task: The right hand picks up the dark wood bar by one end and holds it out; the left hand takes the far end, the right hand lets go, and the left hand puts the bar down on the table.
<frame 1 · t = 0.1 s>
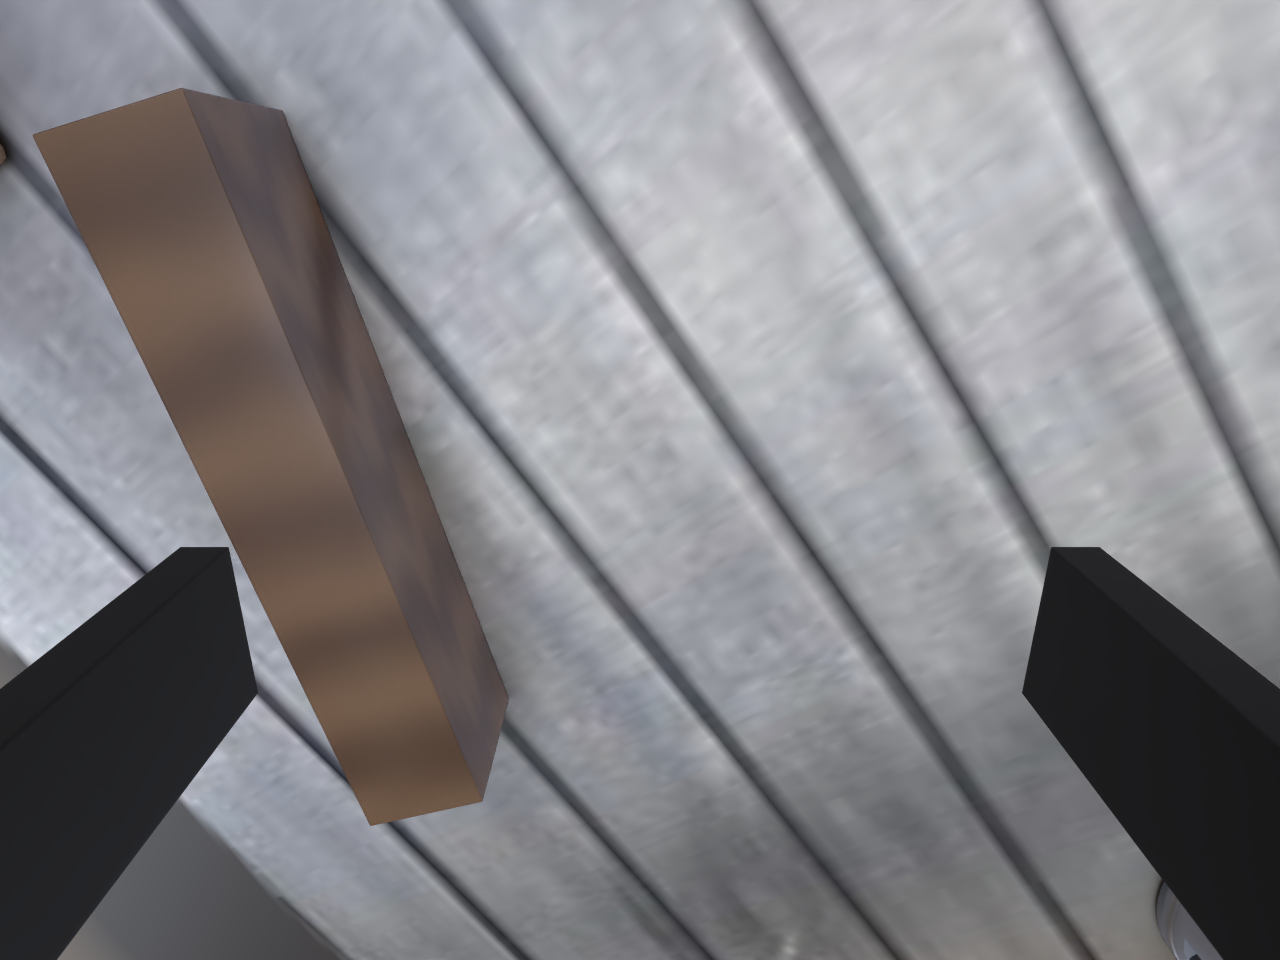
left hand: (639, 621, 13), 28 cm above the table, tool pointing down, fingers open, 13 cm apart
bar: (357, 457, 42), on the table
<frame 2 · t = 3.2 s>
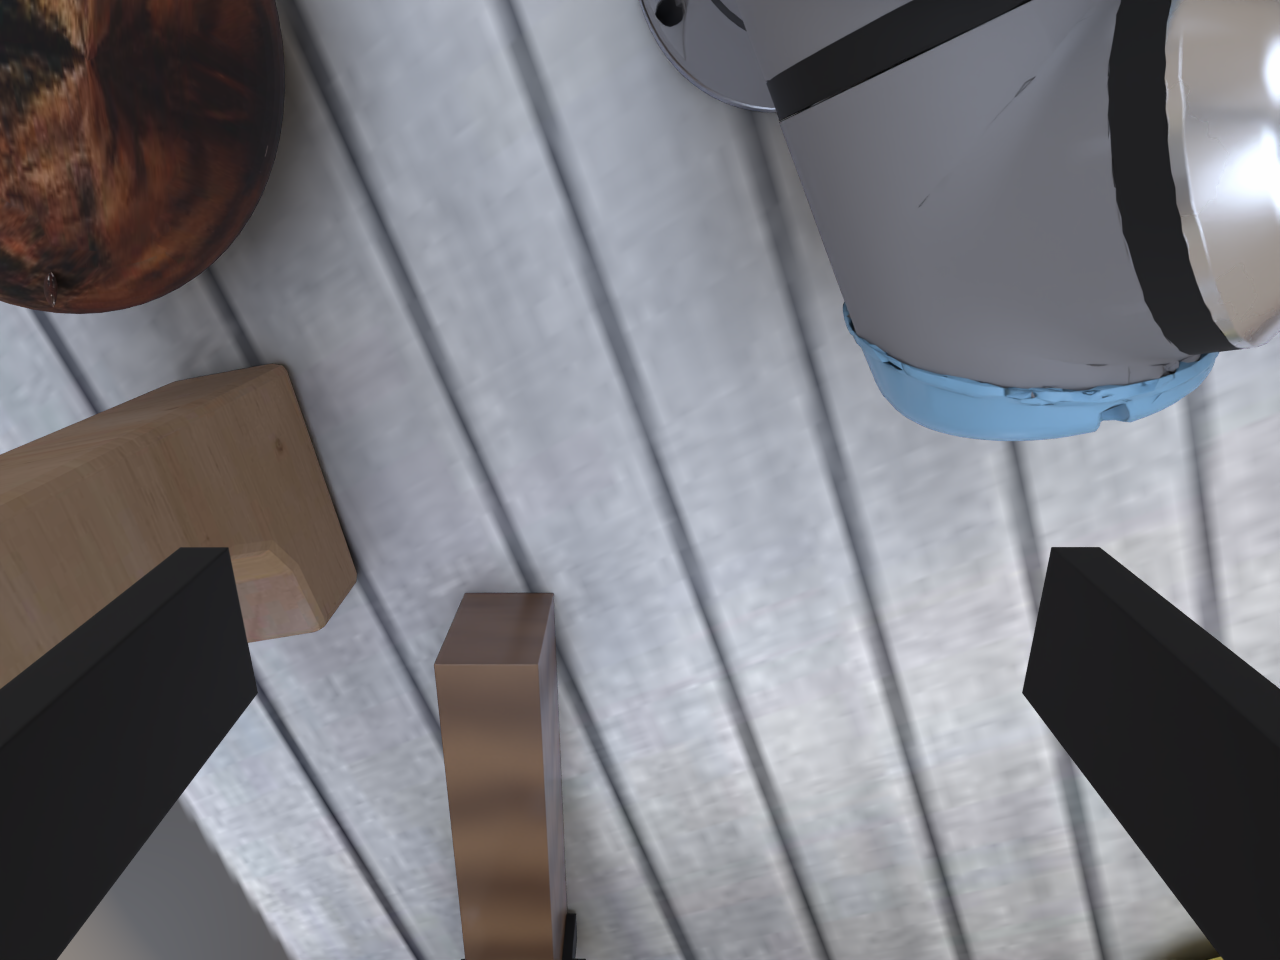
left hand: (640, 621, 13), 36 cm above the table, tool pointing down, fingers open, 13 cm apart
bar: (521, 789, 59), on the table, touching right hand
cat face balloon: (171, 78, 42), on the table
decorative block: (272, 483, 50), on the table
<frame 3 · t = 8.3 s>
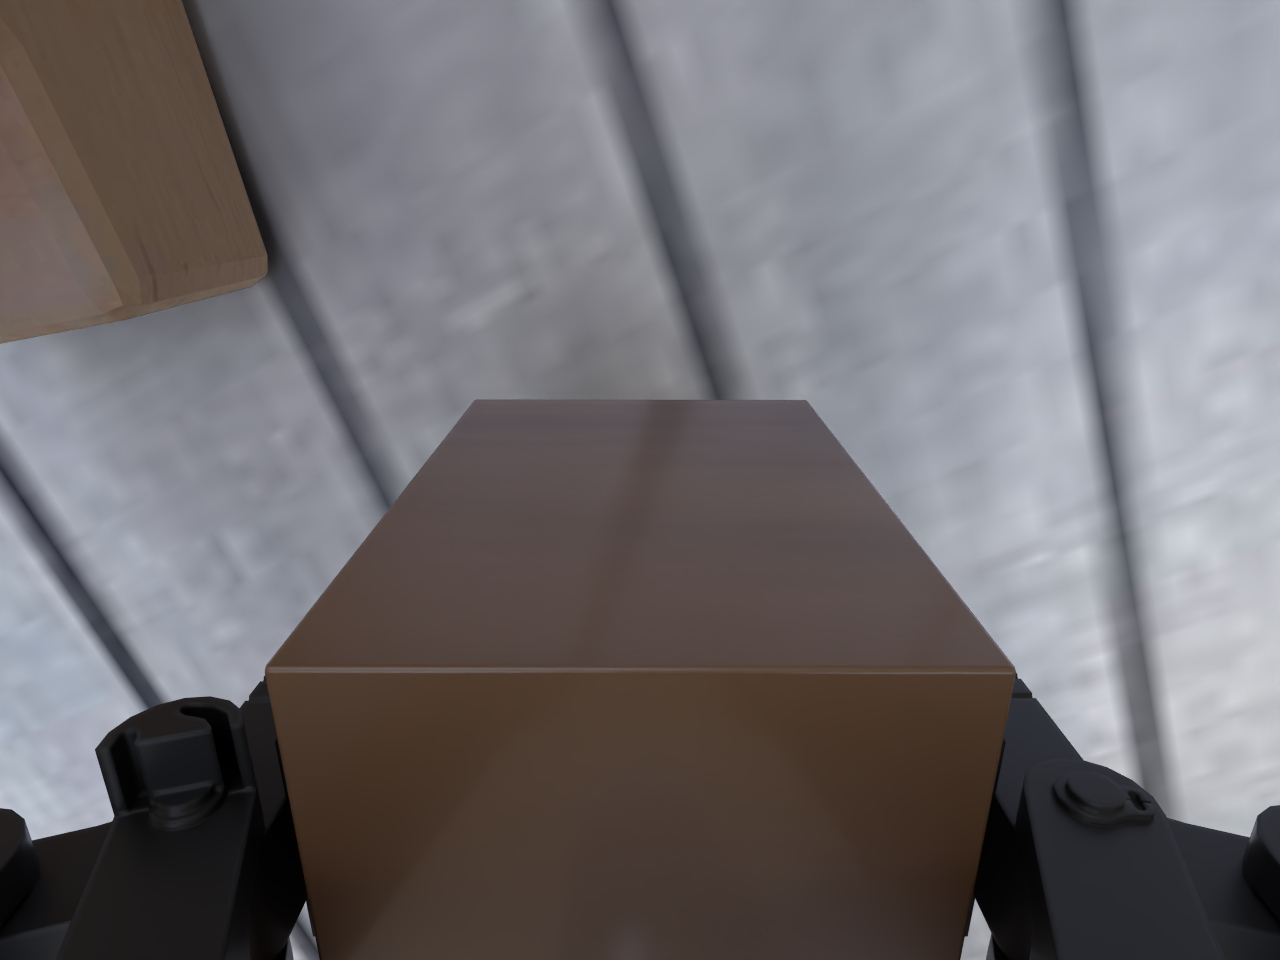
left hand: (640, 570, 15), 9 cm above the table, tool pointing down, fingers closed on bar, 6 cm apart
when the right hand's fingers open (9 cm above the table, at t = 9.1 s): bar stays where it is, held by the left hand.
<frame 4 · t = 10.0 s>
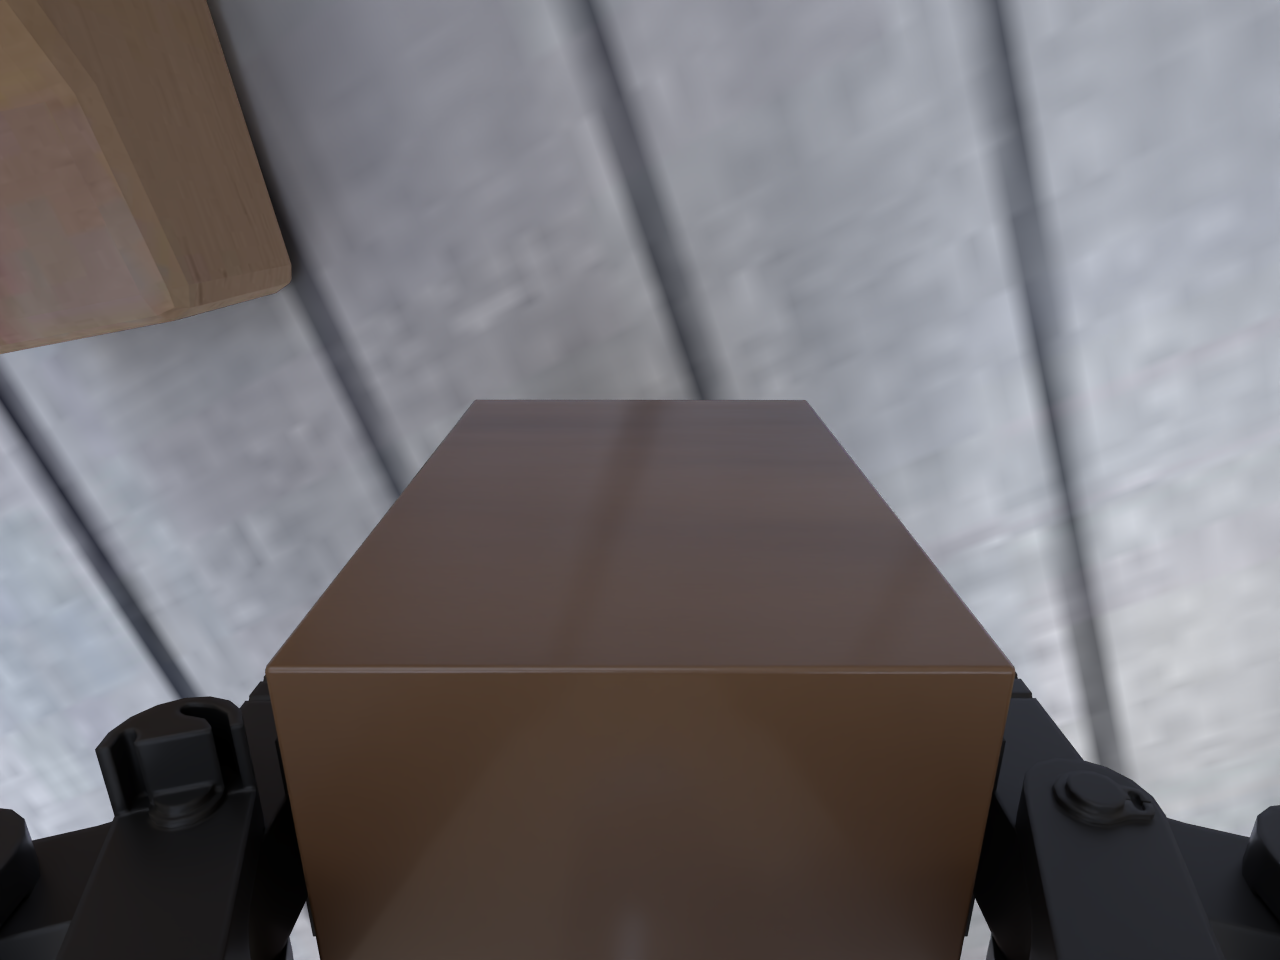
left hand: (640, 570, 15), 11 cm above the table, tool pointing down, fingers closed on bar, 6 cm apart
decorative block: (90, 33, 22), on the table
when the left hand's fingers open (2 cm above the table, at t = 17.4 s): bar drops 1 cm, on the table.
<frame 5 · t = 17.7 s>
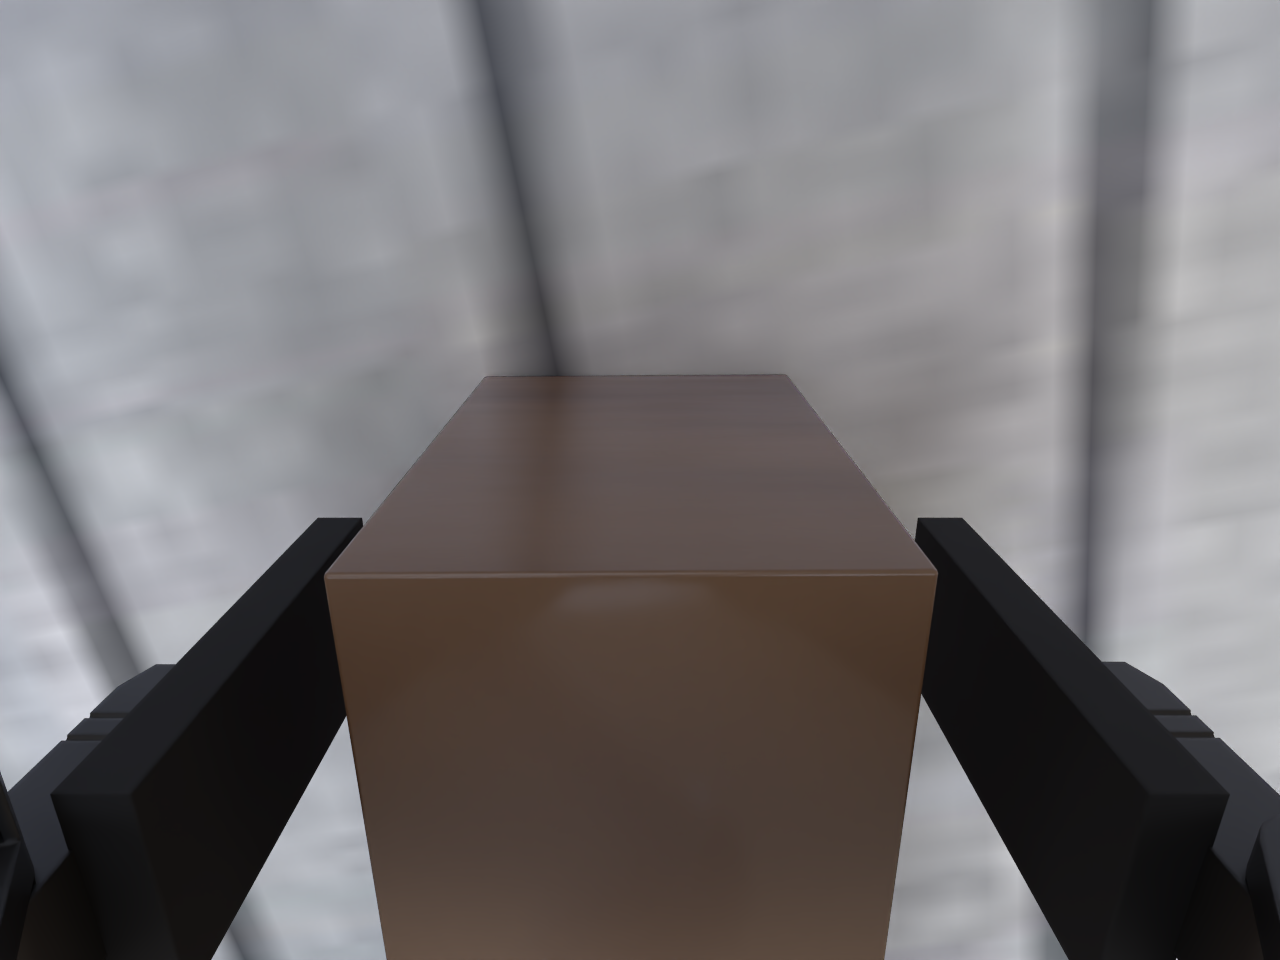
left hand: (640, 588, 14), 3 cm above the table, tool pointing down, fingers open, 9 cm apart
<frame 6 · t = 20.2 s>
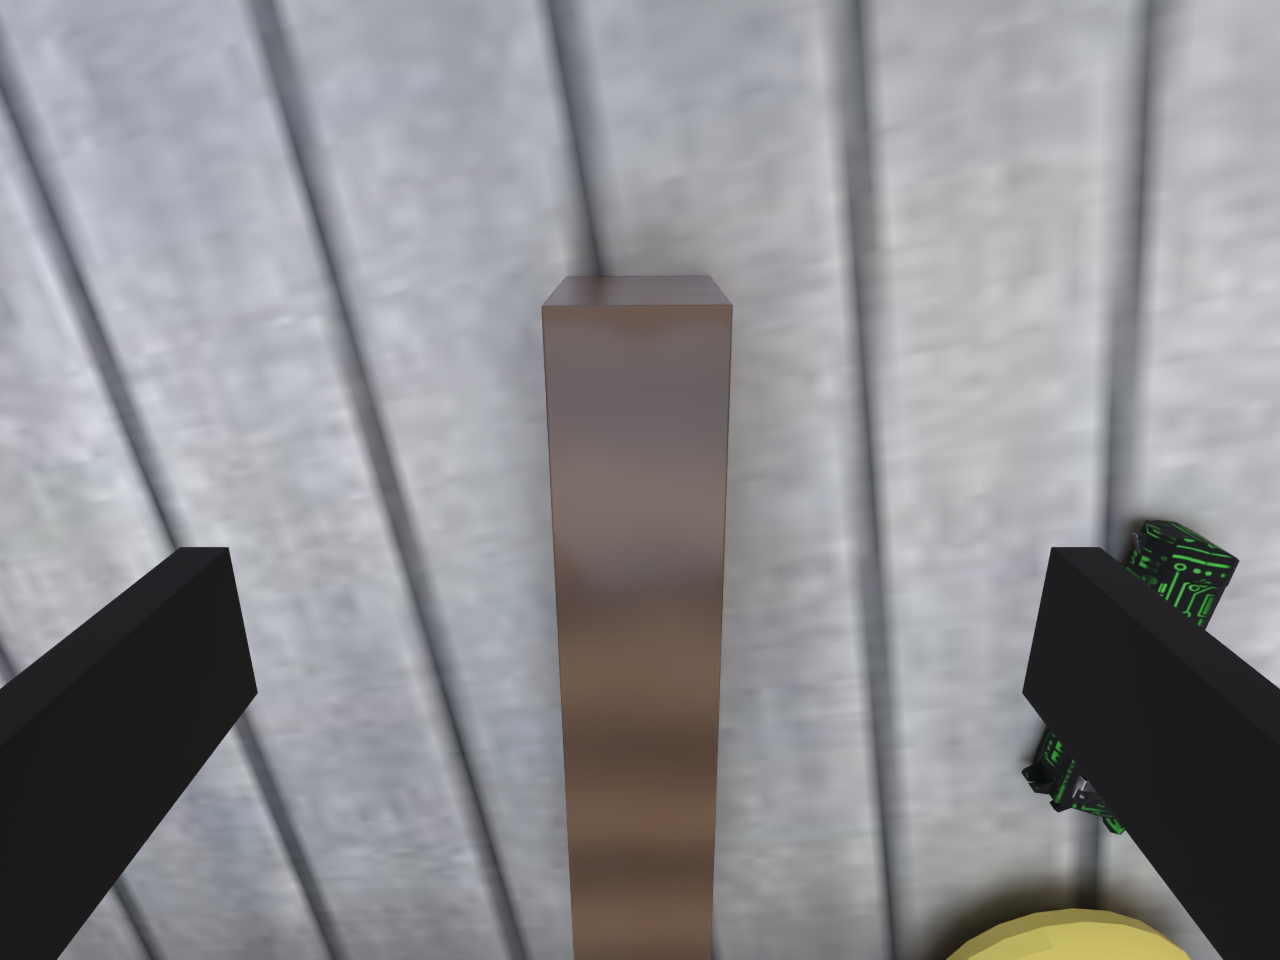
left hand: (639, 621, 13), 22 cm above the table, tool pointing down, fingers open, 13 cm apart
bar: (640, 625, 38), on the table
handgun: (1184, 687, 39), on the table
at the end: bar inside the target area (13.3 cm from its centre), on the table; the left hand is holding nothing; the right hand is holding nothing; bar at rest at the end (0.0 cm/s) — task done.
